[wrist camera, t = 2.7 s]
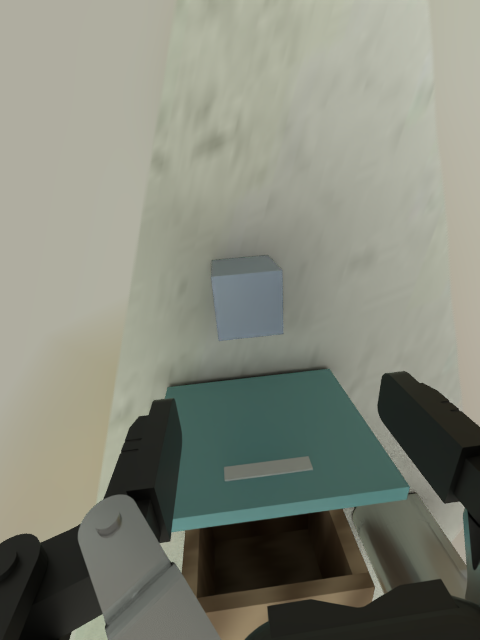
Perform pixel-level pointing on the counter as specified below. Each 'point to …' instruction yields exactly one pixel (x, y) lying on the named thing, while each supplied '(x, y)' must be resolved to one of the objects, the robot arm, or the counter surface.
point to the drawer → (275, 451)
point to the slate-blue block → (247, 297)
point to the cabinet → (273, 568)
